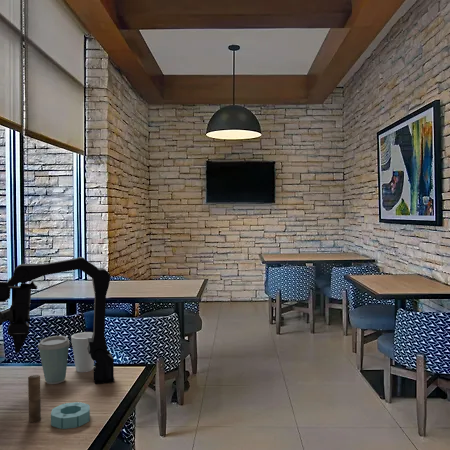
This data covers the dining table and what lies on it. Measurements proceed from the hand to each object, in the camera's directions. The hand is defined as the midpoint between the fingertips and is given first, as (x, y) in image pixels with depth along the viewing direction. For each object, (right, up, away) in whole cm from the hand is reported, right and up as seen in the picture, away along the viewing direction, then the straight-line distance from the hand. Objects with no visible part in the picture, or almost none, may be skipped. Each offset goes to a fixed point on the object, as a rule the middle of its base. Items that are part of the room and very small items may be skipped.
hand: (17, 349), depth 156 cm
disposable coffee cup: (+9, -14, +10) cm, 19 cm away
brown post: (+14, -15, -21) cm, 29 cm away
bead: (+25, -15, -21) cm, 35 cm away
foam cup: (+16, -14, +22) cm, 30 cm away
